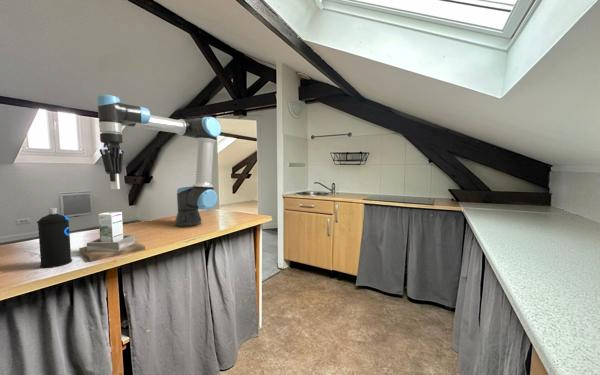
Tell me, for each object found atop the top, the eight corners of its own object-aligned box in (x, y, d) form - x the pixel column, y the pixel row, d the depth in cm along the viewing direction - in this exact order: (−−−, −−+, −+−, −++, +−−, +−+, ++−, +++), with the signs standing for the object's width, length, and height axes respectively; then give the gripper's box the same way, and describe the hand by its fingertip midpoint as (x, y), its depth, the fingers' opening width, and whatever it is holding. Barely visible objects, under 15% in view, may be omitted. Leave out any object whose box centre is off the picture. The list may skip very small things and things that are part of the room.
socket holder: (130, 241, 115) (129, 231, 115) (145, 249, 104) (144, 237, 104) (79, 251, 101) (78, 239, 101) (90, 261, 90) (89, 248, 90)
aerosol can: (43, 270, 82) (39, 211, 81) (36, 265, 87) (32, 208, 85) (75, 262, 89) (72, 207, 88) (67, 258, 94) (64, 206, 92)
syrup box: (124, 245, 105) (122, 211, 104) (113, 249, 99) (111, 213, 98) (111, 244, 106) (110, 211, 104) (99, 249, 100) (97, 213, 99)
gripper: (110, 135, 110) (114, 187, 112) (90, 131, 97) (95, 190, 99) (129, 135, 111) (132, 187, 113) (111, 131, 98) (115, 190, 100)
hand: (115, 188), depth 106 cm, fingers closed
